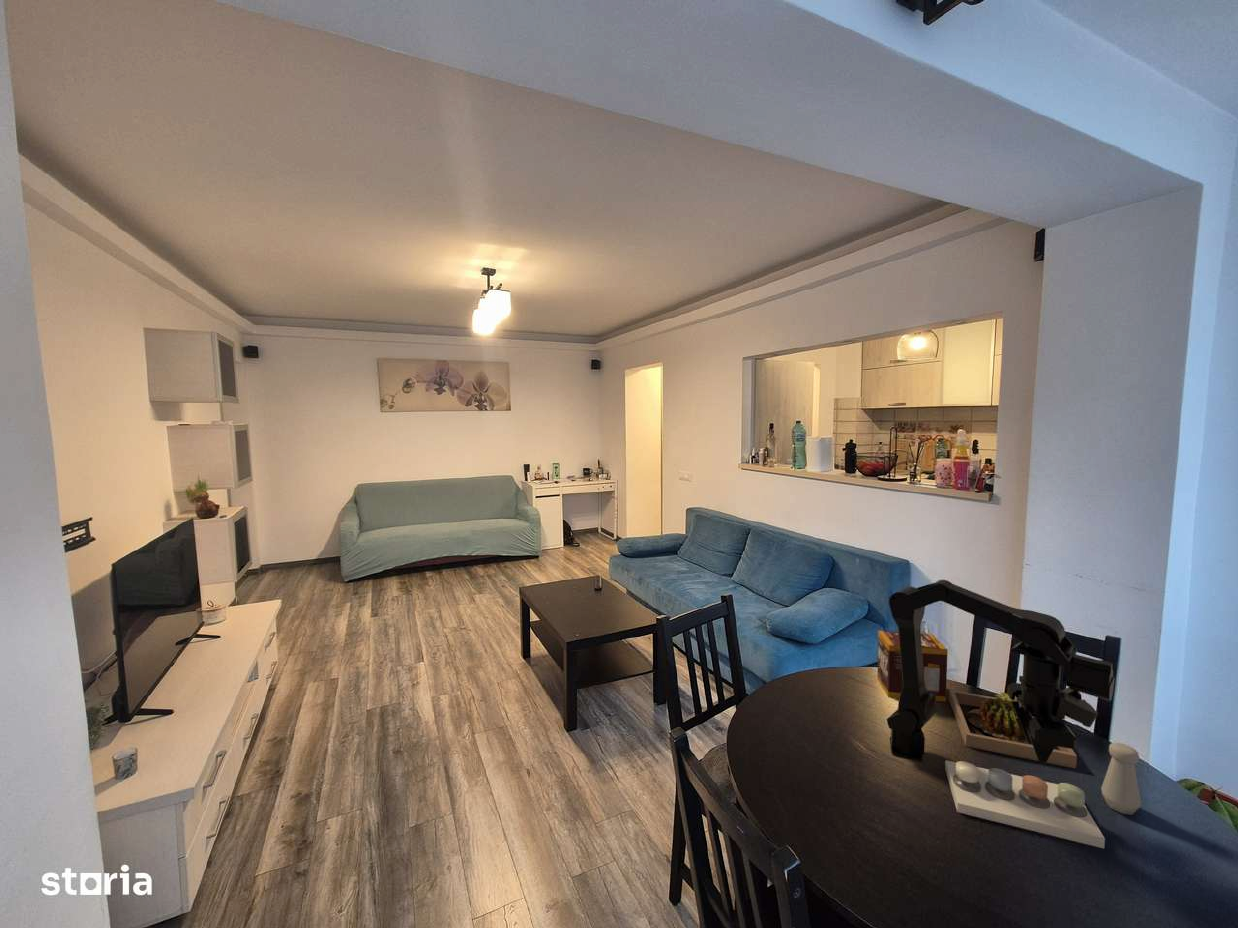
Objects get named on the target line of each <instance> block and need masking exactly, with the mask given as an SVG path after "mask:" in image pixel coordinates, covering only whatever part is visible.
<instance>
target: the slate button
mask: <svg viewBox="0 0 1238 928" xmlns="http://www.w3.org/2000/svg"><path fill="white" fill-rule="evenodd" d="M1010 774H1011V773H1009V772H1007V771H1005V770H1004V769H1002V768H1001V769H1000V768H996V767H993V768H992V767H991V768H989V773H988V781H989V783H990V784H991V785H992V786H994V787H996V788H998V789H1000V790H1005V791H1009V790H1011V789H1012V780H1013V778H1012V776H1011V775H1010Z"/></svg>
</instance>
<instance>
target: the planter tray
mask: <svg viewBox="0 0 1238 928" xmlns="http://www.w3.org/2000/svg"><path fill="white" fill-rule="evenodd" d="M948 697H949V698H948V702H949V703H950V706H951V709H952V712H953V714H954V716H955V720H956V723H957V725H958V728H959V731H960V733H961V737H962V739H963V742H964V745H965V747H968V748H973V749H979V750H983V751H988V752H993V753H998V754H1003V755H1007V756H1012V757H1016V758H1017V757H1018V758H1021V759H1027V760H1031V761H1032V760H1033V761H1037V762H1039V761H1038V758H1037V756H1036V753H1035V751H1034V748H1033V745H1029V744H1024V743H1019V742H1013V741H1008V740H1003V739H999V738H998V737H994V736H993V737H992V736H989V735H988V736H986V735H982V734H977V733H973V732H971V731H970V729H969V726H968V724H967V720H966V718H965V715H964V713H963V711H962V708H961V705H966V706H973V707H978V708H980V706H979V705H981V704H983V702H982V701H986V699H987V700H988V699H989V698H990V697H991V698H993V699H994V698H996V696H994V697H993V696H987V695H981V694H975V693H972V692H965V691H959V690H952V689H949V696H948ZM960 704H961V705H960ZM1056 747H1057V749H1055V748H1054V750H1053V751H1052V753H1051V755H1050V757H1049V758H1048V760H1047V762H1046V763H1045V764H1052V765H1057V766H1061V767H1067V768H1070V769H1075V768H1076V769H1077V762H1078V761H1077V759H1078V758H1077V757H1078V756H1077V754H1076V752H1075V751H1074V749H1070V748H1064V747H1059V746H1056Z"/></svg>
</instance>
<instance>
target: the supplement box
mask: <svg viewBox="0 0 1238 928" xmlns="http://www.w3.org/2000/svg"><path fill="white" fill-rule="evenodd" d="M877 634H878V635H877V636H878V637H877V638H878V639H877V641H878V642H877V675H876V676H877V681H878V682H879V685H880V686H881V688H882V690H883V691H884V693H885V695H886V696H887V697H888V698H898V699H899V698H900V695H901V691H902V688H903V680H902V668H901V655H900V643H899V631H887V630H878V631H877ZM921 644H922V656H923V669H924V681H925V687H926V689H927V690H928V692H929V693H931V694H935V695H936V699H935V702H946V700H947V675H948V653H949V652H948V651H949V650H948V648H946V647H945V645H944V644H943V643H942V642H940V640H939V639H938V638H937V637H936V636H935V634H933V633H921Z"/></svg>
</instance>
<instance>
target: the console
mask: <svg viewBox="0 0 1238 928" xmlns="http://www.w3.org/2000/svg"><path fill="white" fill-rule="evenodd" d="M956 763H957V761H956V762H955V761H953V760H952V761H950V760H946V759H945V761H944V770H945V774H946V776H947V780H948V785H949V787H950V792H951V794H952V798H953V802H954V805H955V809H956V813H959V814H965V815H968V816H971V817H977V818H980V819H983V820H988V821H991V822H996V823H1000V824H1005V825H1008V826H1012V827H1016V828H1020V829H1024V830H1028V831H1033V832H1037V833H1040V834H1044V835H1047V836H1048V835H1049V836H1052V837H1056V838H1060V839H1064V840H1068V841H1073V842H1075V843H1080V844H1084V845H1087V846H1088V845H1089V846H1092V847H1096V848H1100V849H1105V843H1106V839H1105V836H1104V835H1103V833H1102V832H1101V830H1100V828H1099V827H1098V825H1097V823H1096V822H1095V820H1094V819H1093V817H1092V815H1091V814H1090V812H1089V810H1088V809H1087V806H1086V805H1085V804H1084V806H1083V807H1075V806H1071V805H1069V804H1067V803H1065V802H1063V801H1062V800H1060V799H1059V797H1058V784H1059V783H1058V784H1057V783H1052V782H1048V781H1044V782H1045V783H1046V784H1047V785H1048V794H1047V798H1045V799H1040V798H1035V797H1033V796H1031V795H1029V794H1027V793H1026V792H1025V791H1024V790H1023V789H1022V780H1023V776H1020V775H1016V774H1011V773H1009V774H1010V775H1011V776H1012V778H1013V780H1012V789H1011V790H1009V791H1005V790H1000V789H998V788H996V787H994V786H992V785H991V784H990V783H989V781H988V773H989V769H990V768H989V769H987V768H984V767H978V766H976V767H977V768H978V770H979V777H978V782H976V783H969V782H966V781H963V780H961V779H960V778H959V777H958V776H957V775H956Z"/></svg>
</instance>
